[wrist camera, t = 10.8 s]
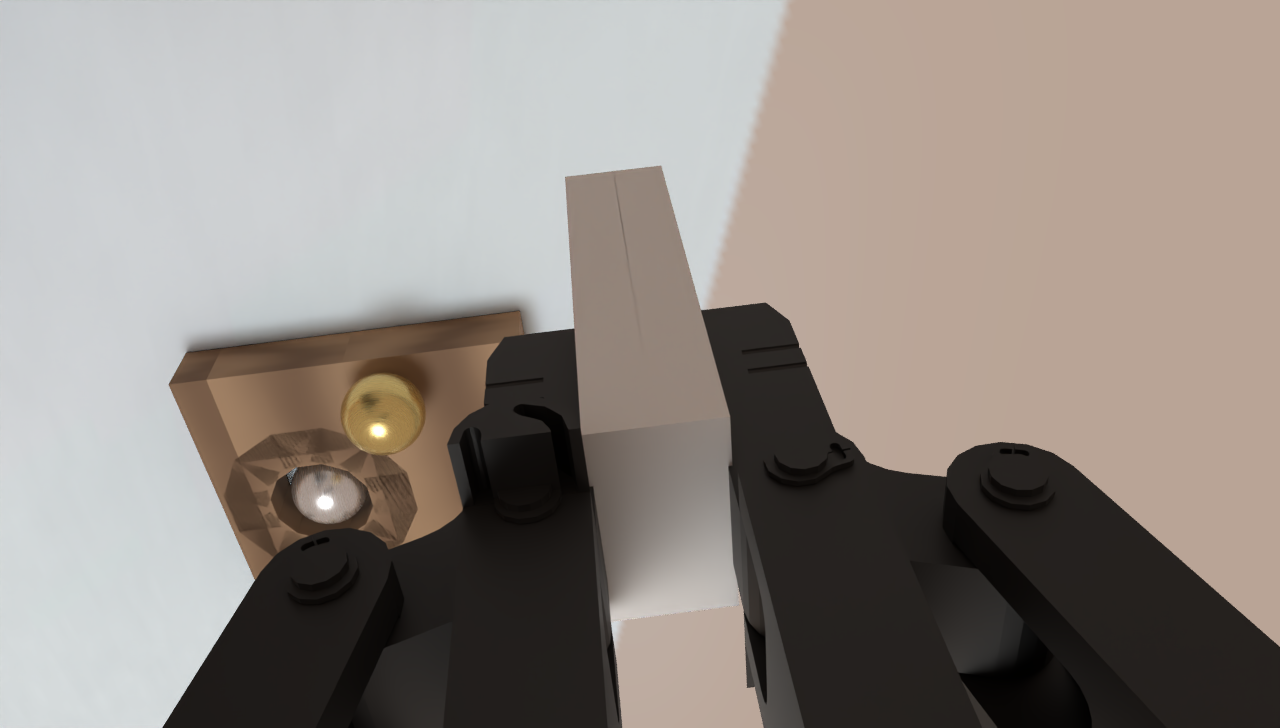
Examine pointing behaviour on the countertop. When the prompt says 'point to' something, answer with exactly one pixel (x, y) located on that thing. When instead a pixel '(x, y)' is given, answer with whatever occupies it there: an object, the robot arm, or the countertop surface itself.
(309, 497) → the steel ball
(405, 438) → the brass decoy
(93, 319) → the countertop surface
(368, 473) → the board
